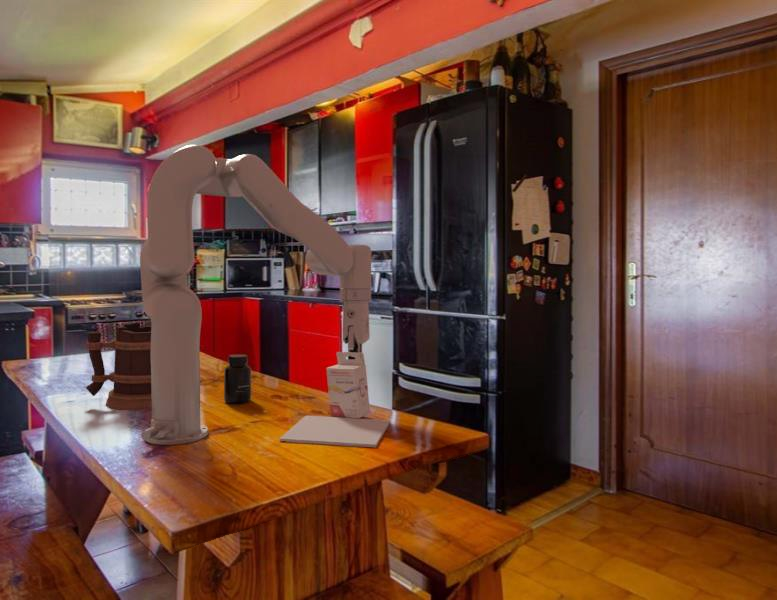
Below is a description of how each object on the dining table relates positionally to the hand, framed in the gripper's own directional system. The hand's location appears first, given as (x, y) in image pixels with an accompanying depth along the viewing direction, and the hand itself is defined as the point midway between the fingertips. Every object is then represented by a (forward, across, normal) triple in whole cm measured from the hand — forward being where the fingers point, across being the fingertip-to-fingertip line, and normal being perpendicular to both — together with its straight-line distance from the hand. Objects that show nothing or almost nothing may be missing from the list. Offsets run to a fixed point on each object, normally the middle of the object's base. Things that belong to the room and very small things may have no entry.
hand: (355, 370), depth 143 cm
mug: (+10, -1, +57) cm, 58 cm away
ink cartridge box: (+10, -5, 0) cm, 11 cm away
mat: (+10, -17, 0) cm, 20 cm away
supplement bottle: (+10, +4, +32) cm, 34 cm away
